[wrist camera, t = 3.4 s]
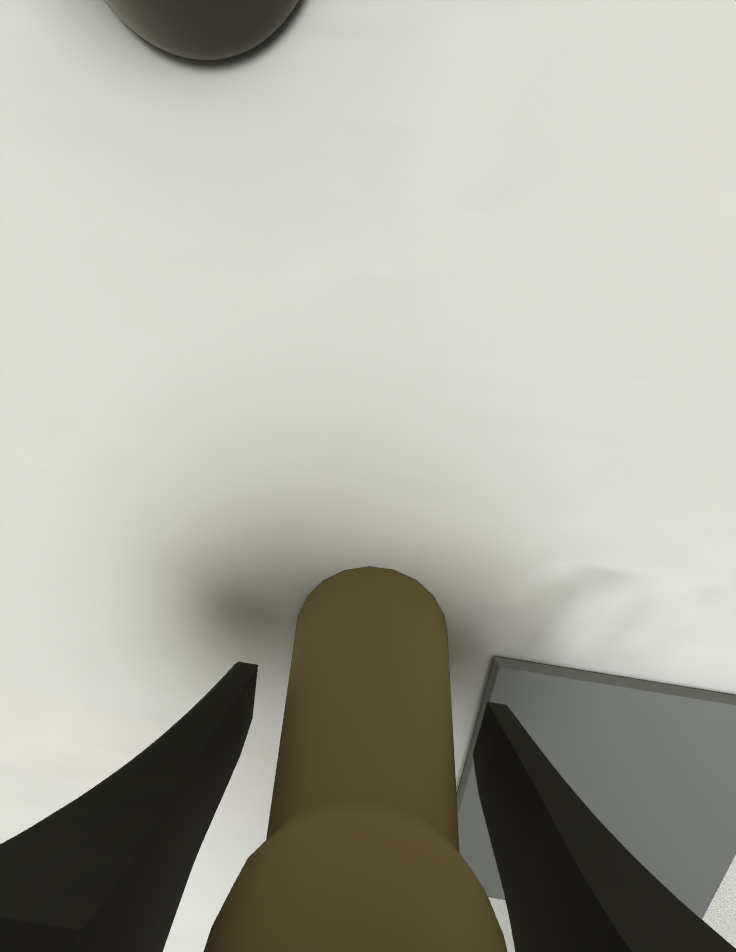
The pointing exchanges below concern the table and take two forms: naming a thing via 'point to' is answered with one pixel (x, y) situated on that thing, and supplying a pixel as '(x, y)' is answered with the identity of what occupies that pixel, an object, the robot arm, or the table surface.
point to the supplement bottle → (203, 24)
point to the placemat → (624, 769)
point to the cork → (363, 789)
